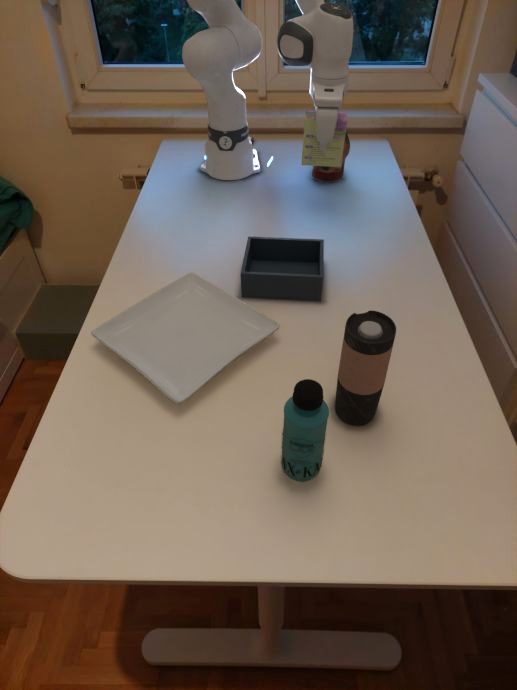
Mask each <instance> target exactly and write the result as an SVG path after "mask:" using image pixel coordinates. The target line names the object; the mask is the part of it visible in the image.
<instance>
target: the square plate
mask: <svg viewBox="0 0 517 690" xmlns="http://www.w3.org/2000/svg"><path fill="white" fill-rule="evenodd" d="M280 326H281V324H280V323H279V322H278V321H276V320H275V319H273V318H272V317H269V316H268V315H266V314H265V313H263V312H261V311H260V310H258V309H256V308H254V307H253V306H251V305H250V304H248V303H245V302H244V301H242V300H241V299H239V298H237V297H236V296H234V295H233V294H230V293H229V292H227V291H225V290H224V289H223V288H221V287H219V286H218V285H216V284H214V283H212V282H211V281H209V280H207V279H205V278H204V277H202V276H201V275H199V274H197V273H195V272H188V273H185V274H184V275H183V276H181V277H179V278H177V279H176V280H174V281H172V282H170V283H168V284H167V285H165V286H163V287H162V288H160V289H158V290H157V291H155V292H154V293H152V294H150V295H148V296H147V297H145V298H143V299H141V300H140V301H138V302H136V303H134V304H133V305H131V306H130V307H128V308H127V309H125V310H123V311H121V312H120V313H118V314H116V315H115V316H113V317H111V318H110V319H109V320H106V321H105V322H103V323H102V324H100V325H98V326H97V327H96V328H94V329H92V330H91V332H90V334H91V336H92V337H93V338H95V340H97V341H98V342H99V343H100V344H102V345H104V346H105V347H106V348H108V349H109V350H110V351H111V352H113V353H114V354H116V355H117V356H118V357H120V358H121V359H123V361H125V362H126V363H127V364H129V365H130V366H131V367H132V368H133V369H134V370H135V371H137V372H138V373H139V374H141V375H142V376H143V377H144V378H145V379H146V380H147V381H149V383H151V384H152V385H153V386H154V387H155V388H156V389H157V390H158V391H159V392H160V393H162V394H163V395H164V396H166V398H168V399H169V400H170V401H171V402H172V403H174V404H175V405H181V404H182V403H184V402H186V401H187V400H188V399H190V398H191V397H192V396H193V395H195V394H196V393H197V392H198V391H200V389H202V388H203V387H204V386H206V384H207V383H209V382H210V381H212V380H213V379H214V378H215V377H217V376H218V375H219V374H220V373H222V371H224V370H225V369H227V368H228V367H229V366H230V365H232V364H233V363H234V362H236V361H237V360H239V359H240V358H241V357H242V356H244V355H245V354H246V353H248V352H249V351H251V350H252V349H254V348H255V347H257V346H258V345H260V344H261V343H262V342H263V341H265V340H266V339H267V338H269V337H270V336H272V335H273V334H274V333H276V332H277V331H278V330H279V329H280Z"/></svg>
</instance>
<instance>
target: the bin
mask: <svg viewBox="0 0 517 690" xmlns="http://www.w3.org/2000/svg"><path fill="white" fill-rule="evenodd" d="M324 244H325V239H320V238H319V239H318V238H297V237H296V238H295V237H273V236H272V237H271V236H270V237H269V236H247V241H246V245H245V251H244V255H243V260H242V264H241V269H240V290H241V291H240V292H241V294H240V295H241V298H244V299H261V300H263V299H264V300H283V301H301V302H304V301H305V302H320V303H321V302H322V298H323V297H322V296H323V286H324V264H325V263H324V261H325V258H324V257H325V255H324V254H325V253H324V252H325V251H324V250H325V247H324V246H325V245H324Z"/></svg>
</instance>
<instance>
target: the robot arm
mask: <svg viewBox="0 0 517 690" xmlns="http://www.w3.org/2000/svg"><path fill="white" fill-rule="evenodd" d="M186 2H187V4H188V5H189V7H190V9H192V10H193V11H195V12H197V13H198V14H200V16H202V18H203V19H204V20H205V22H206V24H208V27H209V28H207V29H204V30H200V31H198V32H196V33H194V34H193V35H192V36H191V37H189V38H188V39H187V40H186V41H185V42H184V43H183V46H182V52H181V58H182V62H183V65H184V68H185V71H186V72H187V73H188V74H189V75H190V76H191V77H192V78H193V79H195V80H196V81H197V82H198V83H199V85H200V86H201V88H202V91H203V93H204V96H205V100H206V101H205V102H206V109H207V119H208V124H207V135H208V137H207V138H208V140H207V141H206V142H205V143H204V144H203V145H204V146H203V148H204V155H203V156H204V157H203V158H204V162H203V163H202V164H201V165H200V171H201V172H204V173H205V174H207V175H209V176H210V177H211V178H214V179H215V180H221V181H237V180H242V179H245V178H248V177H250V176H252V175H253V174H258V173H261V170H262V169H261V165H260V161H259V156H258V151H257V150H256V149H254V145H253V144H252V143H253V141H255V138H254V137H250V135H249V132H250V128H249V123H248V121H247V98H246V95H245V93H244V91H242V90H241V89H240V88H238V86H236V85H235V81H234V76H233V74H234V71H237V70H239V69H242V68H246V67H247V66H249V65H250V64H251V63H253V62H254V61H255V60H257V59H258V57H259V56H260V55H261V53H262V49H263V36H262V33H261V31H260V29H259V27H258V26H257V25H256V24H255V23H254V22H252V21H251V20H250V19H248V18H247V17H246V15H245V14H244V13H243V12H242V9H241V8H240V6H239V4H237V1H236V0H186ZM295 2H296V4H297V6H298V8H299V10H300V12H301V14H302V15H299V16H297V17H293V18H290V19H289V20H286V21H285V22H283V23H282V24H281V25H280V27H279V29H278V31H277V35H276V47H277V52H278V54H279V56H280V58H281V60H282V61H283V62H284V63H285V64H286V65H288V66H291V67H309V68H310V78H309V79H310V80H309V95H310V97H311V99H312V101H313V107H315V112H316V125H317V140H318V141H320V151H324V152H325V151H326V150H327V144H328V142H331V141H332V139H333V136H334V132H335V128H336V123H337V118H338V113H340V108H342V107H343V102H344V99H345V98H346V97H347V93H348V85H349V84H348V83H349V76H350V68H349V62H350V58H351V56H352V50H353V42H354V18H353V14H352V12H351V10H350V9H349V8H348V7H347V6H345V5H344V4H343V5H342V4H340V3H333V2H329V1H328V0H295ZM272 161H274V156H273V155H272V156H271V157H270V159H269V160H268V162H267V163H266V167H267V168H268V167H269V166H270V165H271V164H272Z"/></svg>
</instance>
